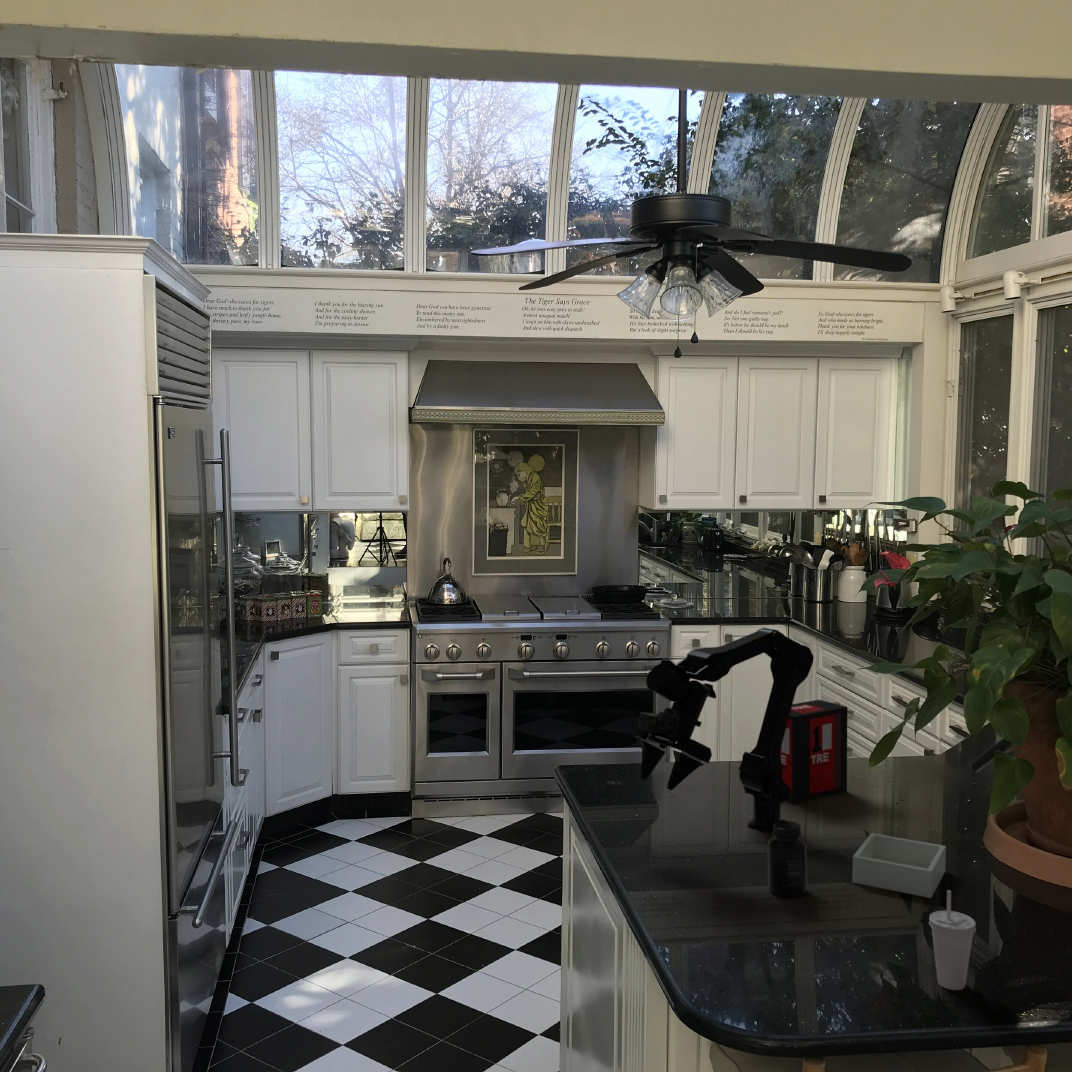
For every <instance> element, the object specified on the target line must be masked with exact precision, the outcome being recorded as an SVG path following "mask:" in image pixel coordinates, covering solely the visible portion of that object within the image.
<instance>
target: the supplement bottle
mask: <svg viewBox="0 0 1072 1072" xmlns="http://www.w3.org/2000/svg"><path fill="white" fill-rule="evenodd" d="M801 829H802V828H801V824H799V823H798V822H795V821H791V820H789V821H788V820H786V821H779V822H776V823H774V824H773V831H772V836H773V837H771V838H770V839H769V840H768V842H767V883H768V885H767V886H768V890H769V891H770V892H771V894H774V895H775V896H780V897H784V898H797V897H801V896H803V895H805V894H806V892H807V890H808V858H807V857H808V856H807V855H808V854H807V853H808V848H807V844H806V842H805V841H804V840H803V839H802V838H801V837H802V832H801Z"/></svg>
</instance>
